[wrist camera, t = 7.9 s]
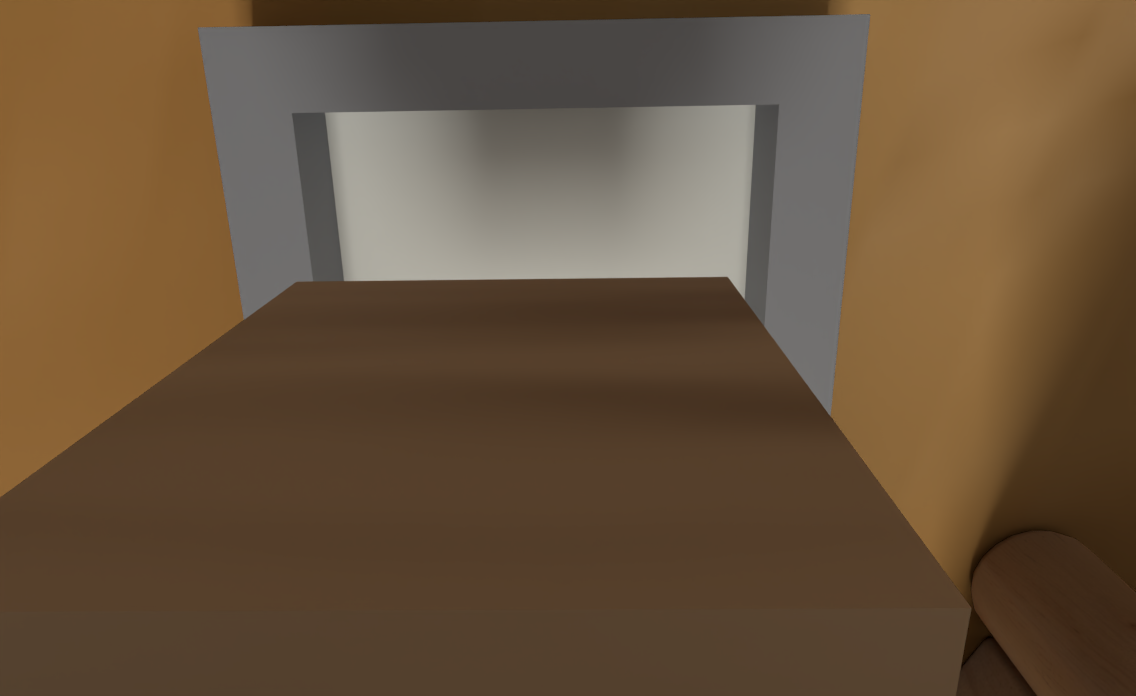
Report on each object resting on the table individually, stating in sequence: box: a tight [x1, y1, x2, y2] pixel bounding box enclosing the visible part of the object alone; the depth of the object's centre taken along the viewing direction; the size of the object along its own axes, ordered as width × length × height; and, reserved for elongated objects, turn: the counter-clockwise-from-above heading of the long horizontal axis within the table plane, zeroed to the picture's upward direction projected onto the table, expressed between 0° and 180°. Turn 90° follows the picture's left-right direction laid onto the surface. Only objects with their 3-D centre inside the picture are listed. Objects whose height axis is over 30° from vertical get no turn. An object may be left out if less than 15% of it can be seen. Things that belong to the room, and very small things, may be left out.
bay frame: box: [198, 14, 870, 415], centre depth 18 cm, size 14×12×2 cm
